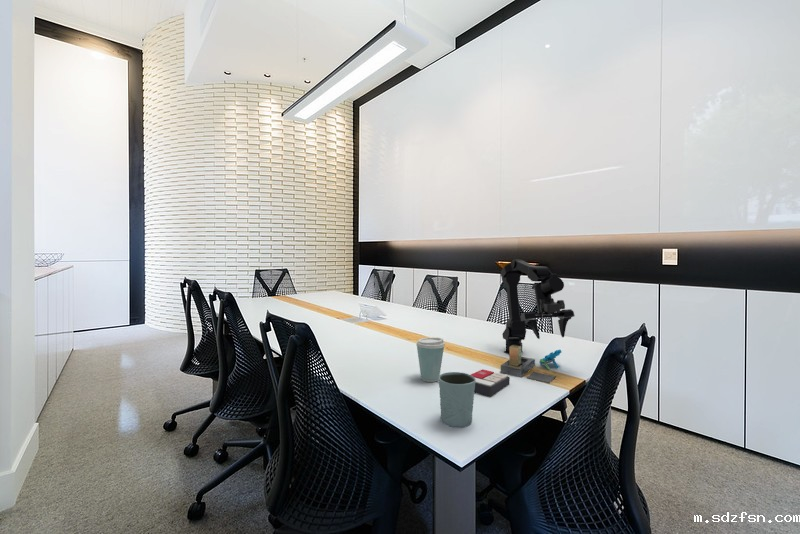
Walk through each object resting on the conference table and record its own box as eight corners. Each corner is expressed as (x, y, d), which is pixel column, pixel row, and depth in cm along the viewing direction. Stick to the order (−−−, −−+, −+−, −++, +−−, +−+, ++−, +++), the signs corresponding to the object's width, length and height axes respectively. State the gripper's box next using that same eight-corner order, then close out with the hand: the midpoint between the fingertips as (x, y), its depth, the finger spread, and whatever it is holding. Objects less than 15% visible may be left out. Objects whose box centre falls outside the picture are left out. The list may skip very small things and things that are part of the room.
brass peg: (509, 372, 138) (509, 346, 137) (512, 369, 140) (512, 344, 140) (517, 374, 136) (518, 348, 135) (520, 371, 138) (521, 346, 138)
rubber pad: (526, 378, 131) (526, 377, 131) (533, 372, 137) (533, 371, 137) (549, 383, 126) (549, 382, 126) (555, 377, 132) (555, 376, 132)
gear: (550, 357, 151) (564, 345, 144) (560, 369, 148) (573, 358, 141) (532, 364, 146) (544, 352, 139) (541, 377, 143) (554, 366, 136)
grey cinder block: (500, 372, 137) (500, 365, 137) (515, 362, 150) (515, 355, 149) (521, 377, 132) (521, 369, 132) (534, 366, 145) (534, 359, 145)
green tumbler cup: (434, 424, 96) (434, 381, 96) (443, 409, 106) (443, 369, 105) (471, 431, 93) (472, 386, 92) (477, 414, 102) (478, 373, 102)
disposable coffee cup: (412, 382, 127) (412, 340, 127) (420, 372, 138) (420, 334, 137) (440, 386, 124) (441, 343, 123) (447, 375, 134) (447, 336, 133)
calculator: (510, 374, 126) (490, 384, 114) (509, 386, 126) (490, 398, 114) (481, 368, 133) (461, 377, 121) (481, 379, 133) (460, 389, 121)
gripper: (526, 294, 131) (533, 337, 126) (576, 291, 131) (585, 334, 126) (517, 300, 142) (523, 340, 137) (564, 298, 142) (571, 337, 137)
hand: (550, 338), depth 134 cm, fingers open, 9 cm apart
